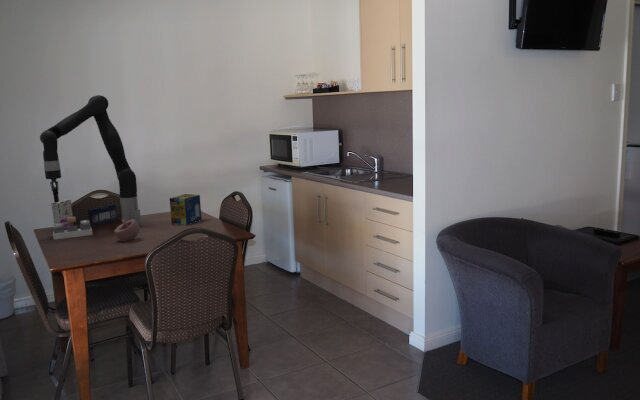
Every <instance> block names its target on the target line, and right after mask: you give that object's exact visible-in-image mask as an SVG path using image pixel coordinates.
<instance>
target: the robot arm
mask: <svg viewBox="0 0 640 400" xmlns="http://www.w3.org/2000/svg"><path fill="white" fill-rule="evenodd" d="M108 108H109V100H108V99H107V97H105V96H104V95H101V94H99V95H98V94H97V95H94V96H91V97H90V98H89V99H88V103H86V105H84V106H83V107H82V108H80V109H79V110H76V111H75V112H73V113H71V114H70V115H68V116H66V117H64V118H63V119H62V120H60V121H59V122H57V123H56V124H55V125H52V126H51V127H49V128H48V129H46V130H44V131H43V132H42V133H40V135H39V140H40V142H41V143H42V145H43V152H42V155H43V170H44V176H45V180H51V181H50V182H49V186H50V189H51V192H52V196H53V201H54V202H59V201H60V199H59V188H60V187H59V186H60V185H59V181H58V180H57V179H61V178H62V171H61V170H62V169H61V163H60V160H59V153H58V139H60V138H61V137H63V136H66V135H67V134H69V133H70V132H72V131H74V130H75V129H76V128H78V127H79V126H80V125H82V124H83V123H84V122H86V121H87V120H89V119H90V118H92V117H93V118H94V120H95V123H96V125H97V129H98V132H99V134H100V137H101V139H102V143H103V144H104V147H105V149H106V152H107V153H108V156H109V158H110V159H111V161H112V163H113V168H114V170H115V173H116V177H117V180H118V186H119V201H120V209H121V210H120V212H121V220H122V219H123V220H124V221H125V222H126V221H128V220H131V219H134V220H135V221H136V222H137V223H138V225H139V227H141V226H142V219H141V218H142V217H141V216H142V215H141V210H140V208H139V203H138V187H137V186H138V185H137V176H136V173H135V172H134V171H133V170H132V168H131V166H130V165H129V162H128V160H127V158H126V154H125V153H126V152H125V148H124V144H123V142H122V138H121V137H120V133H119V131H118V130H117V129H116V127H115V126H114V124H113V123H112V121H111V119H110V117H109V114H108V111H107V109H108ZM54 202H53V203H54ZM121 222H122V221H121ZM122 224H123V222H122Z"/></svg>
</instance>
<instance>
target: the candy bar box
mask: <svg viewBox="0 0 640 400" xmlns="http://www.w3.org/2000/svg"><path fill="white" fill-rule="evenodd" d="M51 210H52V211H51V212H52V217H53V225H54V224H55V223H63V227H64V230H67V227H69V226H71V225H70V223H67V217H74V215H73V207H72V199H62V200H59V202H51ZM73 226H75V222H73Z"/></svg>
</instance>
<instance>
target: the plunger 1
mask: <svg viewBox="0 0 640 400" xmlns="http://www.w3.org/2000/svg"><path fill="white" fill-rule="evenodd" d="M61 228H63V223H55V224H54V223H53V230H54V229H61Z"/></svg>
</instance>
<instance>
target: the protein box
mask: <svg viewBox="0 0 640 400" xmlns="http://www.w3.org/2000/svg"><path fill="white" fill-rule="evenodd" d="M169 207H170V219H171V220H170V221H171V225H172V224H177V225H176V226H189V225H191V224H190V223H192V224H194V223H193V222H195V221H198V222H200V221H199V220H201V219H202V207H201V195H200V194H193V193H192V194H191V193H190V194H189V193H184V194H182V195H181V194H179V195H178V196H177V195H176V196H174V197H170V198H169ZM201 221H202V220H201ZM195 223H196V222H195ZM188 224H189V225H188Z"/></svg>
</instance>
